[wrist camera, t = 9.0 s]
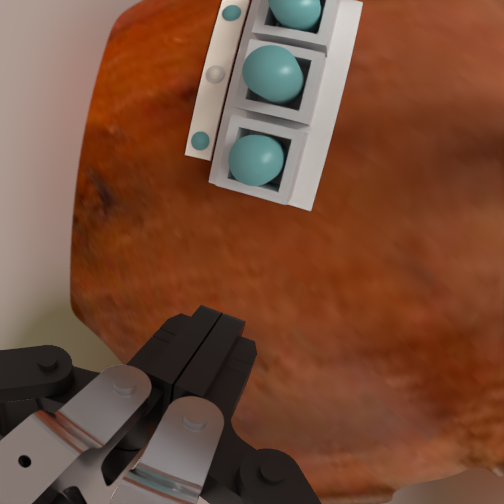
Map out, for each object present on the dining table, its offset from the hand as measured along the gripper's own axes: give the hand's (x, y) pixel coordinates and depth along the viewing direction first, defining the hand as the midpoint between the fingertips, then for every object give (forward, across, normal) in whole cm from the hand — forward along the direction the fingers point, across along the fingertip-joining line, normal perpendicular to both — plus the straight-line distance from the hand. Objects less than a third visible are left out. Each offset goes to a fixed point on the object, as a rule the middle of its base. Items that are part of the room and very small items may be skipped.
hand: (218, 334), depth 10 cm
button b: (+24, +5, -11) cm, 27 cm away
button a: (+26, +5, -19) cm, 32 cm away
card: (+27, +13, -11) cm, 32 cm away
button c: (+26, +5, -3) cm, 26 cm away
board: (+27, +5, -11) cm, 29 cm away
